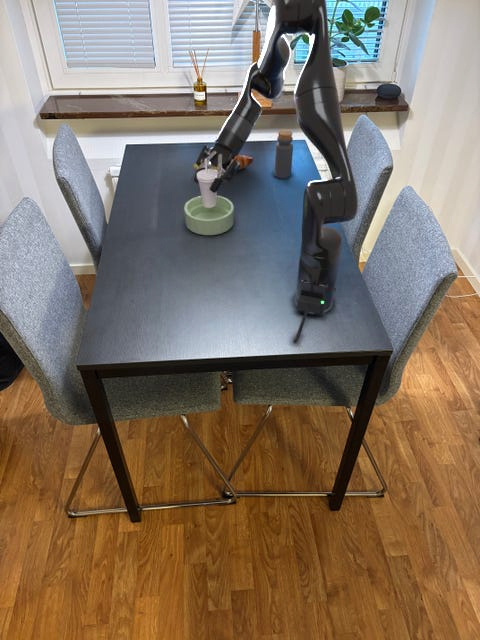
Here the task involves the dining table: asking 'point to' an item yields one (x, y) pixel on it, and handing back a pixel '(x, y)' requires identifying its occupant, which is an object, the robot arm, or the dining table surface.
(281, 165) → the bottle
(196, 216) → the bowl
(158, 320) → the dining table surface
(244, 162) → the croissant
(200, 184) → the smoothie
